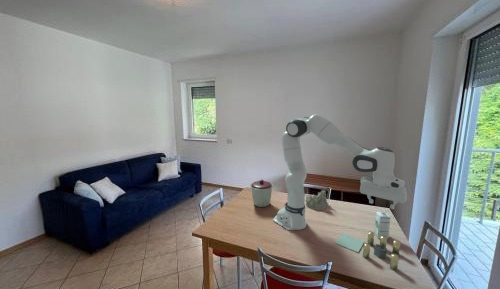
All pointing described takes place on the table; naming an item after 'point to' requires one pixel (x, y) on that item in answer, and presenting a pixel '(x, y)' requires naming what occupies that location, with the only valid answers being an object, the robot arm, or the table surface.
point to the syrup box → (382, 224)
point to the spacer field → (383, 242)
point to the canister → (261, 193)
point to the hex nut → (380, 251)
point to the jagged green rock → (317, 201)
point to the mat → (350, 242)
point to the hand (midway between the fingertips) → (381, 205)
